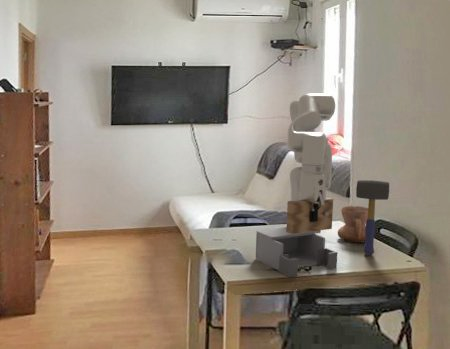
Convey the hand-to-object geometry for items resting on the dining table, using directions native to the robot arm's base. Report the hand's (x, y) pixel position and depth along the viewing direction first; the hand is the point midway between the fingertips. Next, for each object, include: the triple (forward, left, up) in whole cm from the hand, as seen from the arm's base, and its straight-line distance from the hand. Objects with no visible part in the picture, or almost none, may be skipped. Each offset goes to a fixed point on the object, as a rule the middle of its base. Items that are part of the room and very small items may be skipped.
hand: (310, 220), depth 201 cm
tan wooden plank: (0, 0, -4) cm, 4 cm away
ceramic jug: (-44, -23, -19) cm, 53 cm away
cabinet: (0, -8, -19) cm, 20 cm away
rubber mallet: (-34, -4, -19) cm, 39 cm away
